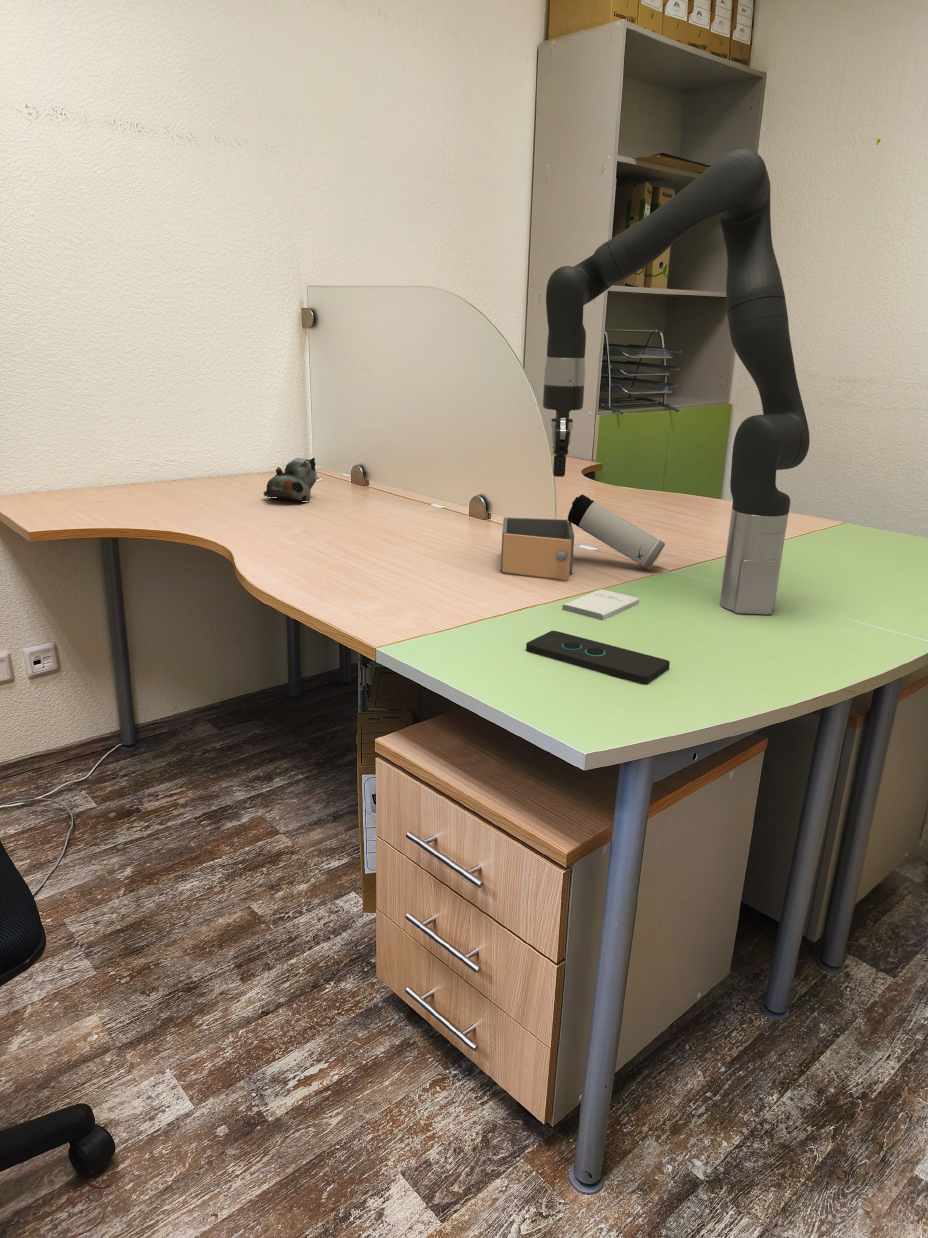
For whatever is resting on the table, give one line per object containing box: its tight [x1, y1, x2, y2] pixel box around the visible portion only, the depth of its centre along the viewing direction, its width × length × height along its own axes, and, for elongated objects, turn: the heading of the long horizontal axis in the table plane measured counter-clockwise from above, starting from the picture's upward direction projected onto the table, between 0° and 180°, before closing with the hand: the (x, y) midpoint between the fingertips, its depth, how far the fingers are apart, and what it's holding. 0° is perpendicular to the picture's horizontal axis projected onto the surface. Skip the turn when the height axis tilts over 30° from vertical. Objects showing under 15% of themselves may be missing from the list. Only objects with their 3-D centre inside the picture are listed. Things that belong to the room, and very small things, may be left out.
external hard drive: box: [561, 588, 640, 621], centre depth 146 cm, size 2×8×12 cm
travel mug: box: [567, 494, 666, 570], centre depth 170 cm, size 6×7×20 cm
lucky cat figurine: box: [263, 457, 318, 502], centre depth 227 cm, size 15×12×14 cm
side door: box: [501, 533, 572, 580], centre depth 161 cm, size 2×13×8 cm, turn 71°
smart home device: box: [525, 630, 671, 686], centre depth 123 cm, size 8×2×20 cm
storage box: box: [500, 517, 575, 576], centre depth 170 cm, size 14×14×8 cm
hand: (558, 475), depth 161 cm, fingers closed
